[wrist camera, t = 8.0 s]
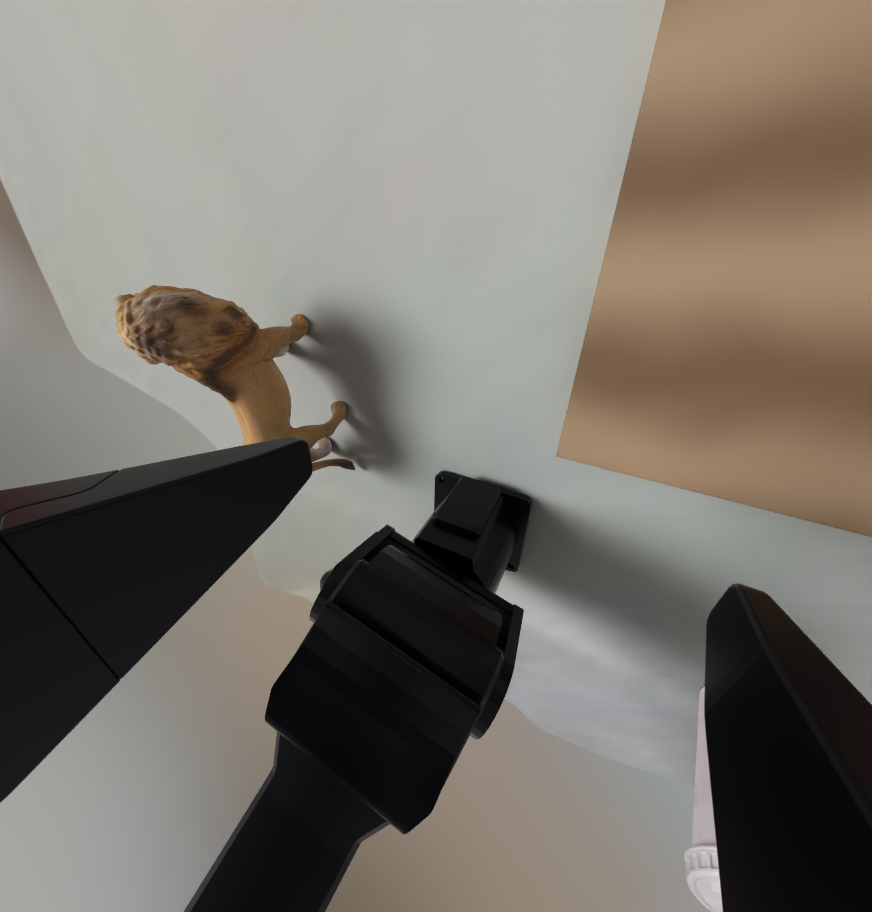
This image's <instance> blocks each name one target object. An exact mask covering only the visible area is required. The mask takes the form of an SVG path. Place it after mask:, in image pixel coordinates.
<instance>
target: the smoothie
mask: <svg viewBox="0 0 872 912" xmlns="http://www.w3.org/2000/svg"><path fill="white" fill-rule="evenodd" d="M704 693H705V686H704V687H703V688H702V689H701V690H700V692H699V709H698V730H697V751H696V772H695V794H694V812H693V840H692V847H691V848H690V849H688V850H687V851H686V852H685V863H686V870H687V871H686V873H687V883H688V886H689V888H690V889H691V891H692V893H693V894H694V895H695V896H696V898H697V899H698V900H699V901H700V902H701V903H702V904H703V905H704V906H705V907H706V908H707V909H709V910H710V911H711V912H723V908H722V898H721V888H720V877H719V867H718V857H717V846H716V836H715V825H714V815H713V805H712V794H711V784H710V774H709V763H708V753H707V743H706V732H705V718H704Z"/></svg>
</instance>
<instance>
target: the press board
mask: <svg viewBox="0 0 872 912" xmlns="http://www.w3.org/2000/svg"><path fill="white" fill-rule="evenodd" d="M556 456H557V457H561V458H564V459H568V460H572V461H576V462H580V463H584V464H588V465H592V466H596V467H600V468H604V469H608V470H611V471H615V472H619V473H623V474H627V475H631V476H635V477H639V478H643V479H647V480H651V481H655V482H658V483H662V484H666V485H670V486H674V487H678V488H682V489H686V490H690V491H694V492H698V493H702V494H705V495H709V496H713V497H717V498H721V499H725V500H729V501H733V502H737V503H741V504H745V505H748V506H752V507H756V508H760V509H764V510H768V511H772V512H776V513H780V514H784V515H788V516H792V517H795V518H799V519H803V520H807V521H811V522H815V523H819V524H823V525H827V526H831V527H835V528H839V529H842V530H846V531H850V532H854V533H858V534H862V535H866V536H870V537H872V0H666V3H665V7H664V11H663V15H662V20H661V24H660V28H659V32H658V36H657V40H656V44H655V49H654V53H653V57H652V61H651V65H650V69H649V73H648V78H647V82H646V86H645V90H644V94H643V98H642V102H641V107H640V111H639V115H638V119H637V123H636V127H635V131H634V136H633V140H632V144H631V148H630V152H629V156H628V160H627V165H626V169H625V173H624V177H623V181H622V185H621V189H620V194H619V198H618V202H617V206H616V210H615V214H614V218H613V223H612V227H611V231H610V235H609V239H608V243H607V247H606V252H605V256H604V260H603V264H602V268H601V272H600V276H599V281H598V285H597V289H596V293H595V297H594V301H593V306H592V310H591V314H590V318H589V322H588V326H587V330H586V335H585V339H584V343H583V347H582V351H581V355H580V359H579V364H578V368H577V372H576V376H575V380H574V384H573V388H572V393H571V397H570V401H569V405H568V409H567V413H566V417H565V422H564V426H563V430H562V434H561V438H560V442H559V446H558V451H557V455H556Z"/></svg>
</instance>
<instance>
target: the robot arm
mask: <svg viewBox="0 0 872 912" xmlns="http://www.w3.org/2000/svg"><path fill="white" fill-rule="evenodd" d="M312 471H313V465H312V459H311V453H310V447H309V444H308V443H307V441H305V440H303V439H300V438H297V437H292V436H291V437H285V438H280V439H275V440H270V441H264V442H259V443H254V444H249V445H244V446H239V447H233V448H228V449H223V450H218V451H213V452H208V453H203V454H198V455H193V456H187V457H182V458H177V459H172V460H167V461H161V462H156V463H151V464H146V465H141V466H136V467H130V468H126V469H122V470H120V471H119V470H115V471H109V472H105V473H99V474H94V475H88V476H83V477H78V478H72V479H67V480H61V481H55V482H49V483H43V484H37V485H30V486H24V487H18V488H11V489H5V490H0V802H1V801H3V800H4V799H5V798H6V797H7V796H8V795H9V794H10V793H11V792H12V791H13V790H14V789H15V788H16V787H17V786H18V785H19V784H20V783H21V782H22V781H23V780H24V779H25V778H26V777H27V776H28V775H29V774H30V773H31V772H32V771H33V770H34V769H35V768H36V767H37V766H38V765H39V764H40V763H41V762H42V760H43V759H44V758H46V756H47V755H48V754H49V753H50V752H51V751H52V750H53V749H54V748H55V747H56V746H57V745H58V744H59V743H60V742H61V741H62V740H63V739H64V738H65V737H66V736H67V735H68V734H69V733H70V732H71V731H72V730H73V729H74V728H75V727H76V726H77V725H78V724H79V722H80V721H81V720H82V719H83V718H84V717H85V716H86V715H87V714H88V713H89V712H90V711H91V710H92V709H93V708H94V707H95V706H96V705H97V704H98V703H99V702H100V701H101V700H102V699H103V698H104V697H105V696H106V695H107V694H108V692H109V691H111V689H112V688H113V687H114V686H115V685H116V684H117V683H118V682H119V681H120V679H121V678H122V677H124V675H126V673H128V672H129V670H130V669H131V668H132V667H133V666H134V665H135V664H136V663H137V662H138V661H139V660H140V659H141V658H142V657H143V656H144V655H145V654H146V653H147V652H148V651H149V650H150V649H151V648H152V647H153V646H154V644H156V643H157V642H158V641H159V640H160V639H161V638H162V636H163V635H164V634H165V633H166V632H167V631H168V630H169V629H170V628H171V627H172V626H173V625H174V624H175V623H176V622H177V621H178V620H179V619H180V618H181V617H182V616H183V615H184V614H185V613H186V612H187V611H188V610H189V609H190V608H191V607H192V606H193V605H194V604H195V603H196V602H197V601H198V600H199V598H201V596H202V595H203V594H204V593H205V592H206V591H207V590H208V589H209V588H210V587H211V586H212V585H213V584H214V583H215V582H216V581H217V580H218V579H219V578H220V577H221V576H222V575H223V574H224V573H225V572H226V571H227V570H228V569H229V568H230V567H231V566H232V565H233V564H234V562H236V560H237V559H238V558H239V557H240V556H241V555H242V554H243V553H244V552H245V551H246V550H247V549H248V548H249V547H250V546H251V545H252V544H253V543H254V542H255V541H256V540H257V539H258V538H259V537H260V536H261V535H262V534H263V533H264V532H265V531H266V530H267V529H268V528H269V526H270V525H271V524H272V523H273V522H274V521H275V520H276V519H277V517H278V516H279V515H280V514H281V513H282V511H283V510H284V509H285V508H286V506H287V505H288V504H289V503H290V501H291V500H292V499H293V498H294V497H295V495H296V494H297V493H298V492H299V490H300V489H301V488H302V487H303V485H304V484H305V483H306V482H307V480H308V479H309V478H310V476H311V474H312ZM441 477H442V478H444V479H445V480H443V479H442V478H441ZM521 502H522V503H525V504H526V506H525V505H522V504H521ZM531 509H532V501H531V499H530V498H529V497H527V496H524V495H521V494H518V493H514V492H511V491H508V490H505V489H501V488H498V487H495V486H492V485H488V484H485V483H482V482H478V481H475V480H472V479H468V478H465V477H462V476H458V475H455V474H452V473H448V472H445V471H440V472H439V473H438V474H437V475H436V477H435V503H434V512H433V514H432V515H431V516H430V518H429V519H428V520H427V522H426V523H425V524H424V526H423V527H422V528H421V530H420V531H419V532H418V534H417V535H416V536H415V538H414V539H413V540H412V542H411V541H410V540H408V539H407V538H405V537H403V536H402V535H400V534H399V533H397V532H395V529H394V528H392V527H390V526H389V525H386V526H385V527H384V528H382V529H381V530H380V531H379V532H375V533H374V534H373V535H372V536H371V537H369V538H368V539H367V540H366V541H364V542H363V543H362V544H361V545H360V546H358V547H357V548H356V549H355V550H354V551H352V552H351V553H350V554H349V555H348V556H346V557H345V558H344V559H343V560H342V561H340V562H339V563H338V564H337V565H336V566H335V567H334V568H333V569H331V570H329V571H327V572H326V573H325V574H324V575H323V577H322V578H321V580H320V589H321V591H320V593H319V595H318V597H317V599H316V600H315V602H314V605H313V607H312V609H311V613H310V620H311V621H313V622H314V624H313V626H312V627H311V629H310V630H309V632H308V634H307V635H306V637H305V639H304V640H303V642H302V643H301V645H300V647H299V648H298V650H297V652H296V653H295V655H294V656H293V658H292V660H291V661H290V662H289V664H288V665H287V667H286V668H285V669H284V671H283V672H282V674H281V675H280V676H279V678H278V679H277V681H276V682H275V683H274V685H273V687H272V689H271V693H270V697H269V701H268V705H267V709H266V714H265V721H266V722H267V723H268V724H269V725H270V726H271V727H273V728H274V729H275V730H276V731H277V737H276V747H275V756H274V765H273V768H272V770H271V772H270V774H269V775H268V777H267V779H266V780H265V782H264V784H263V785H262V787H261V788H260V790H259V792H258V794H257V795H256V796H255V798H254V800H253V801H252V803H251V804H250V806H249V808H248V809H247V811H246V812H245V814H244V816H243V817H242V819H241V820H240V822H239V824H238V825H237V827H236V829H235V830H234V832H233V833H232V835H231V837H230V838H229V840H228V842H227V843H226V845H225V846H224V848H223V850H222V851H221V853H220V854H219V856H218V857H217V859H216V861H215V863H214V864H213V866H212V867H211V869H210V870H209V872H208V874H207V875H206V877H205V878H204V880H203V882H202V883H201V885H200V886H199V888H198V890H197V891H196V893H195V895H194V896H193V898H192V899H191V901H190V903H189V904H188V906H187V907H186V909H185V911H184V912H325V910H326V909H327V907H328V905H329V903H330V901H331V899H332V897H333V895H334V893H335V891H336V889H337V887H338V885H339V883H340V881H341V879H342V878H343V875H344V874H345V872H346V870H347V868H348V866H349V864H350V862H351V860H352V858H353V856H354V855H355V853H356V850H357V849H358V847H359V845H360V843H361V842H362V841H363V840H365V839H366V838H368V837H370V836H371V835H373V834H375V833H376V832H378V831H380V830H381V829H383V828H384V827H386V826H388V825H389V824H391V825H393V826H394V827H395V828H396V829H397V830H399V831H400V832H401V833H402V834H406V833H408V832H409V831H411V830H412V829H413V828H414V827H415V826H417V825H418V824H419V823H420V822H421V821H423V820H424V819H425V818H426V817H427V816H428V815H429V814H430V813H431V812H432V810H433V808H434V806H435V804H436V801H437V799H438V797H439V794H440V792H441V790H442V788H443V786H444V784H445V782H446V780H447V778H448V776H449V774H450V772H451V771H452V768H453V767H454V765H455V763H456V761H457V759H458V757H459V755H460V753H461V751H462V749H463V747H464V745H465V743H466V741H467V739H468V738H469V736H472V737H473V738H475V739H476V740H477V739H479V738H481V737H482V736H483V735H484V734H485V732H486V731H487V730H488V728H489V727H490V725H491V723H492V722H493V720H494V718H495V716H496V714H497V712H498V711H499V709H500V706H501V704H502V702H503V700H504V697H505V695H506V692H507V690H508V687H509V684H510V681H511V678H512V674H513V670H514V665H515V659H516V653H517V647H518V641H519V636H520V630H521V624H522V618H523V612H524V610H523V609H522V608H520V607H518V606H517V605H515V604H514V605H512V604H510V603H509V602H507V601H506V600H504V599H502V598H501V597H499V596H498V595H496V594H495V593H496V590H497V588H498V586H499V583H500V581H501V578H502V576H503V574H504V571H505V569H506V570H508V571H512V572H515V571H517V569H518V567H519V564H520V559H521V555H522V550H523V545H524V541H525V536H526V532H527V527H528V522H529V518H530V513H531ZM512 564H513V565H512ZM704 718H705V732H706V743H707V753H708V763H709V774H710V784H711V794H712V805H713V815H714V825H715V836H716V846H717V857H718V867H719V877H720V888H721V898H722V908H723V912H872V705H871V704H870V703H869V702H868V701H867V699H866V698H865V697H864V696H863V695H862V694H861V693H860V692H859V691H858V690H857V689H856V688H855V687H854V686H853V685H852V683H851V682H850V681H849V680H848V679H847V678H846V677H845V676H844V675H843V674H842V673H841V672H840V671H839V670H838V669H837V667H836V666H835V665H834V664H833V663H832V662H831V661H830V660H829V659H828V658H827V657H826V656H825V655H824V654H823V653H822V651H821V650H820V649H819V648H818V647H817V646H816V645H815V644H814V643H813V642H812V641H811V640H810V639H809V638H808V637H807V635H806V634H805V633H804V632H803V631H802V630H801V629H800V628H799V627H798V626H797V625H796V624H795V623H794V622H793V621H792V620H791V618H790V617H789V616H788V615H787V614H786V613H785V612H784V611H783V610H782V609H781V608H780V607H779V606H778V605H777V604H776V602H775V601H774V600H773V599H772V598H771V597H770V596H769V595H768V594H766V593H765V592H762V591H760V590H757V589H754V588H751V587H748V586H745V585H742V584H733V585H731V586H730V587H729V588H728V589H727V591H726V592H725V593H724V595H723V596H722V597H721V599H720V600H719V601H718V603H717V604H716V605H715V607H714V608H713V609H712V611H711V612H710V614H709V617H708V620H707V628H706V661H705V693H704Z"/></svg>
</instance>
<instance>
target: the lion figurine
mask: <svg viewBox="0 0 872 912" xmlns="http://www.w3.org/2000/svg"><path fill="white" fill-rule="evenodd" d="M115 302H116V304H117V306H118V307H117V309H116V311H115V313H114V314H115V317H116V320H117V324H116V325H117V329H118V334H119V336H120V338H121V339H122V340H123V341H124V343H125V344H126V346H127V347H128V348H130V349H132V350H134V351H135V352H136V354H137V355H138V356H139V357H141V358H143V359H144V360H145V361H146V362H147V363H149V364H158V363H161V362H162V363H165V364H166V365H168V366H172V367H173V368H174V369H175V370H176V371H178V372H180V373H183V374H185V375H186V376H187V377H189V378H192V379H194V380H195V381H197V382H199V383H201V384H202V385H204V386H207V387H209V388H210V389H211V390H213V391H215V392H218V393H220V394H221V395H222V396H223V397H225V398H226V400H227V401H228V403H229V405H230V406H231V408H232V410H233V411H234V413H235V415H236V417H237V419H238V422H239V424H240V426H241V429H242V432H243V437H244V445H249V444H254V443H259V442H264V441H270V440H275V439H280V438H285V437H291V436H292V437H297V438H300V439H303V440H305V441H307V443H308V444H309V447H310V453H311V459H312V462H314V461H316V460H318V459H321V458H323V457H325V456H327V455H329V454H330V452H331V451H332V444H331V441H330V440H329V439H328V438H326V437H329V436H331V435H332V434H333V433H334V431H335V429H336V428H337V426H338V425H339V423H340V422H341V421H342V420H343V419H344V418H345V416H346V412H347V410H346V406H345V405H344V404H343V403H342V402H340V401H338V402H334V403H332V404H331V411H332V416H331V418H330V419H329V420H328V421H327V422H326V423H325V424H322V425H309V426H302V427H299V428H292V427H291V425H290V416H291V397H290V393H289V389H288V386H287V383H286V381H285V379H284V377H283V375H282V373H281V372H280V370H279V368H278V367H277V365H276V364H275V362H274V361H273V358H275V357H280V356H283V355H285V353H286V352H287V351H288V350H289V344H291V343H293V342H295V341H298V340H300V339H301V338H302V337H303V336H304V335H305V334H306V333H307V331H308V326H309V323H308V321H307V319H306V318H305V317H304V316H303V315H300V314H296V315H294V317H292V318H291V321H292V325H291V326H290V327H270V328H265V329H259V327H258V325H257V324H256V323H255V322H253V320H252V319H251V318H250V317H249V316H248V315H247V313H246V312H245V310H244V309H242V308H240V307H238V306H237V305H236V304H235V303H234V302H231V301H226V300H224V299H218V298H214V297H212V296H210V295H207V294H204V293H202V292H200V291H198V290H195V289H188V288H184V289H181V288H176V287H171V286H156V285H153V286H150V287H148V288H147V289H145V290H144V291H142V292H141V293H137V294H135V295H131V294H128V295H120V296H117V297H116V299H115ZM318 440H319V442H318V444H319V448H318V449H313V448H312V447H313V445H314V444H315V443H316V442H317V441H318ZM312 465H313V471H315V470H318V469H321V468H324V467H327V466H340V467H342V468H345V469H350V470H355V467H354V465H353V463H352V462H351V461H349V460H346V459H330V460H324V461H320V462H315V463H312Z"/></svg>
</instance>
